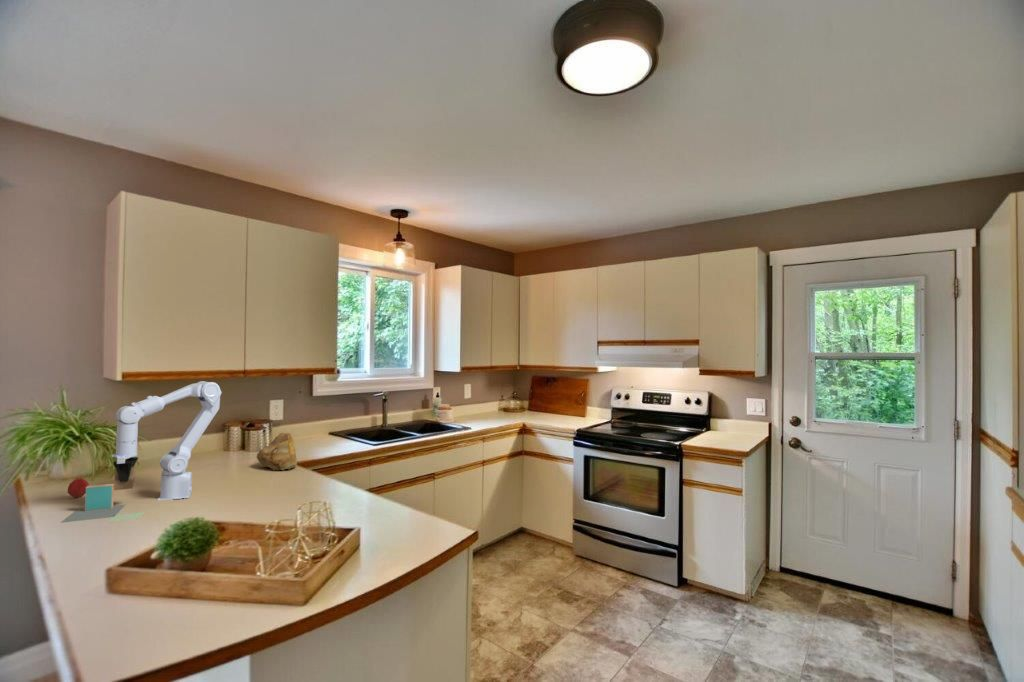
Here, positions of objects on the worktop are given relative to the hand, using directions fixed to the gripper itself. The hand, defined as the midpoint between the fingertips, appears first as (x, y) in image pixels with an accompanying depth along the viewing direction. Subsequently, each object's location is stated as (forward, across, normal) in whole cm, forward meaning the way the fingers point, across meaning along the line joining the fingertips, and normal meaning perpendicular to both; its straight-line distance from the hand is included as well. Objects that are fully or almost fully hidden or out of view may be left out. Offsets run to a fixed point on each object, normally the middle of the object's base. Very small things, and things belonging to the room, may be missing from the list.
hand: (125, 480), depth 163 cm
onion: (+9, -18, -17) cm, 26 cm away
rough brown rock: (+9, -43, +48) cm, 66 cm away
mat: (+9, +6, -6) cm, 12 cm away
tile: (+8, +2, -6) cm, 11 cm away
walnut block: (+3, 0, 0) cm, 3 cm away
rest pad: (+9, +15, +4) cm, 17 cm away
